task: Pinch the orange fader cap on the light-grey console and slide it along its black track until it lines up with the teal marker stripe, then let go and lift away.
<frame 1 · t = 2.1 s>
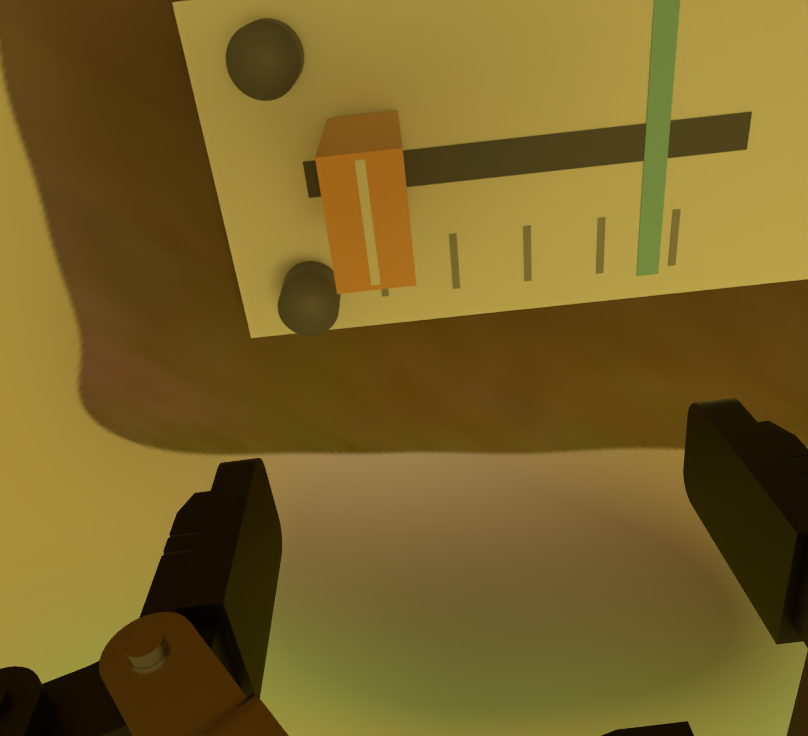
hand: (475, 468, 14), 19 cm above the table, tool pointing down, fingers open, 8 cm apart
fader cap: (369, 197, 25), point 5 cm above the table, slide at -6.0 cm
console: (516, 143, 29), on the table
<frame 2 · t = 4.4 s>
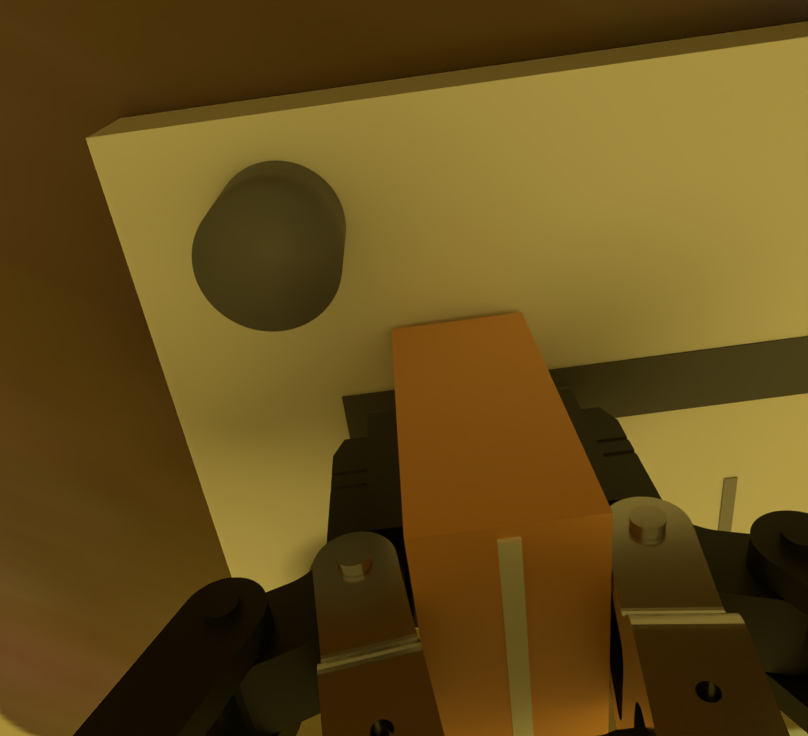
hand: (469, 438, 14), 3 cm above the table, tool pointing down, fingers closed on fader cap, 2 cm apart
fader cap: (486, 507, 13), point 5 cm above the table, slide at -6.0 cm, touching gripper
console: (704, 331, 17), on the table
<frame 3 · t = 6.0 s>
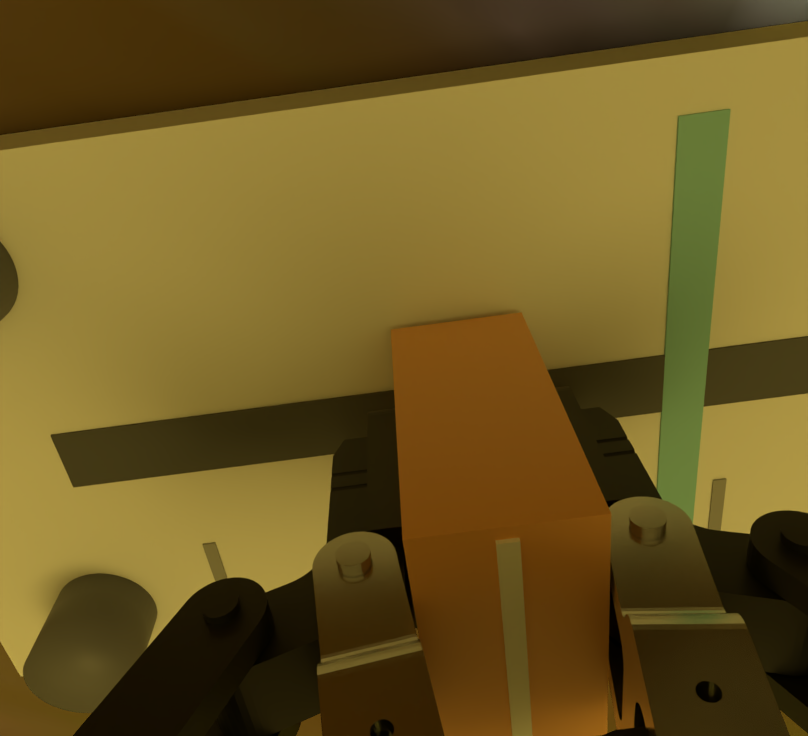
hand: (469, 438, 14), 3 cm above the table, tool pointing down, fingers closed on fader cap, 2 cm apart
fader cap: (485, 507, 13), point 5 cm above the table, slide at 0.3 cm, touching gripper
console: (442, 366, 17), on the table
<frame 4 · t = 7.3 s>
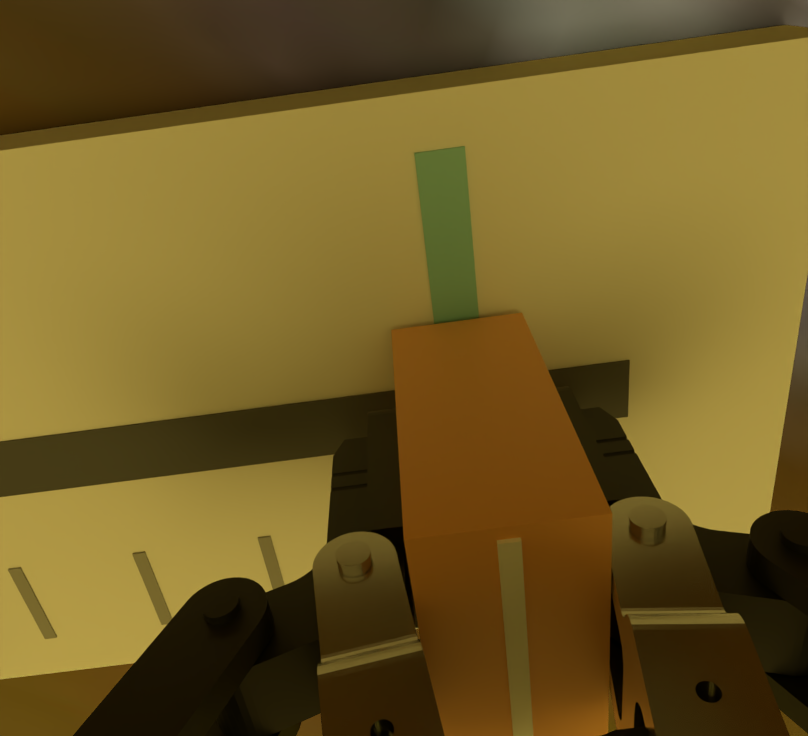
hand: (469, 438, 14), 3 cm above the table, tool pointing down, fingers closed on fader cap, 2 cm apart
fader cap: (486, 507, 13), point 5 cm above the table, slide at 5.0 cm, touching gripper
console: (249, 391, 17), on the table
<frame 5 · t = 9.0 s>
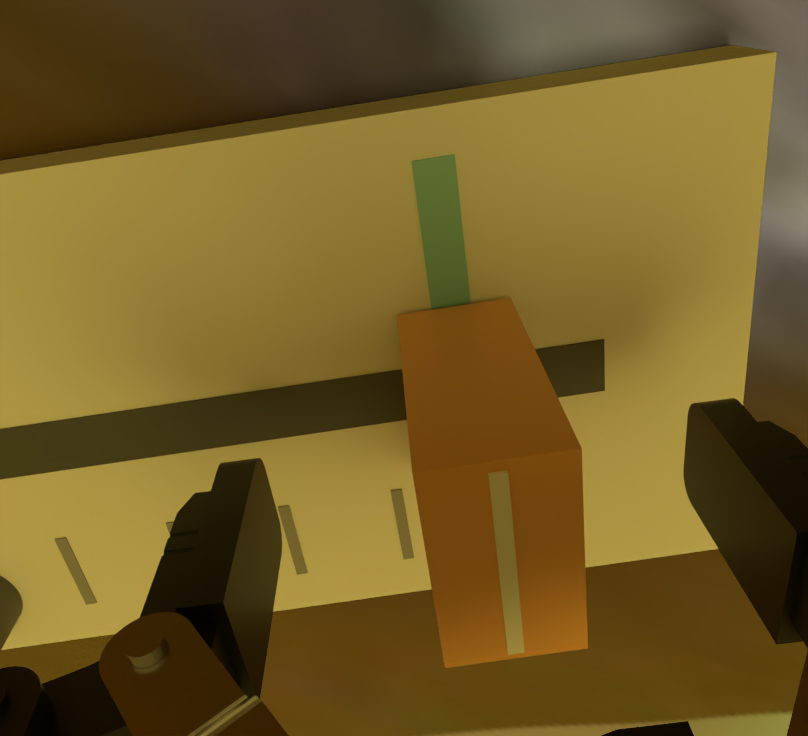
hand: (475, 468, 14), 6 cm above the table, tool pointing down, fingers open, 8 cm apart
fader cap: (481, 463, 15), point 5 cm above the table, slide at 5.0 cm
console: (268, 376, 19), on the table
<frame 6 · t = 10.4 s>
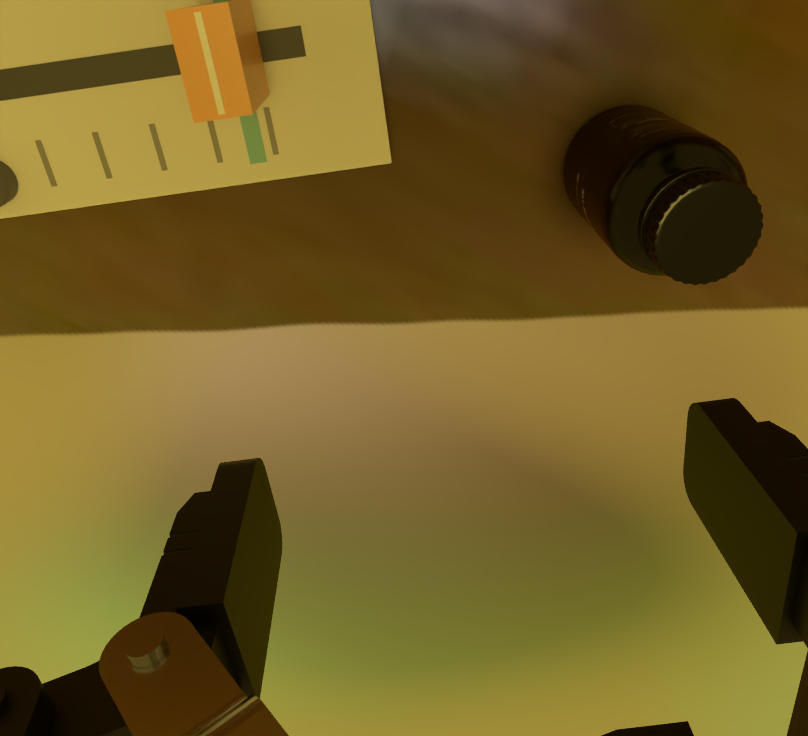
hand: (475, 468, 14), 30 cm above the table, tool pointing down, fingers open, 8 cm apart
fader cap: (223, 57, 33), point 5 cm above the table, slide at 5.0 cm
supplement bottle: (620, 166, 41), on the table
console: (145, 61, 37), on the table
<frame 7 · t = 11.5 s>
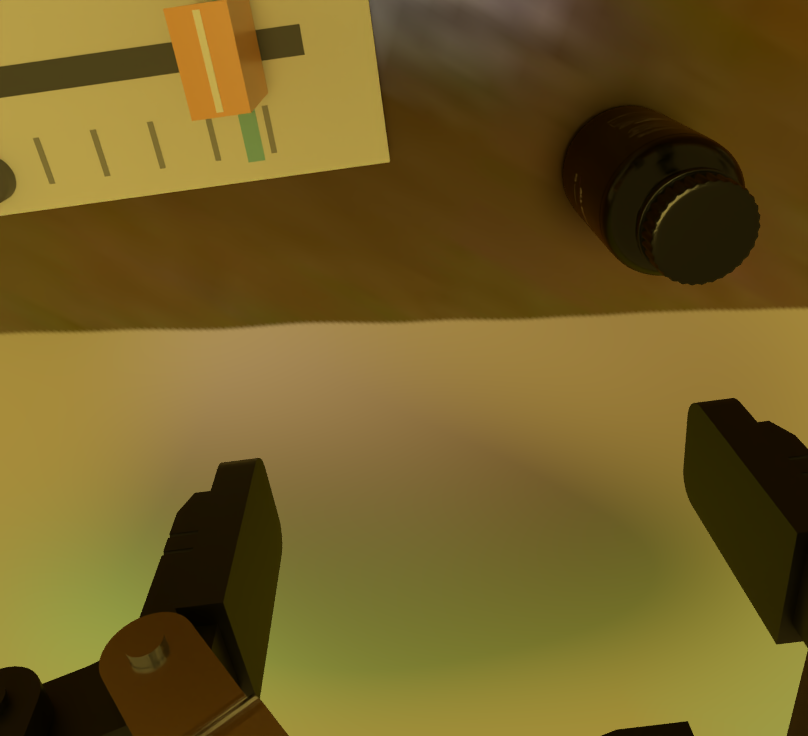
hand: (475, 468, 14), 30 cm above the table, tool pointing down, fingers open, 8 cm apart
fader cap: (221, 55, 33), point 5 cm above the table, slide at 5.0 cm
supplement bottle: (618, 165, 41), on the table
console: (144, 59, 37), on the table
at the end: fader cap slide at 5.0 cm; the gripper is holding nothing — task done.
